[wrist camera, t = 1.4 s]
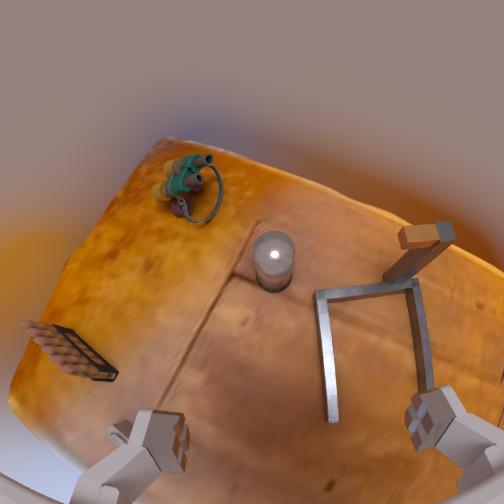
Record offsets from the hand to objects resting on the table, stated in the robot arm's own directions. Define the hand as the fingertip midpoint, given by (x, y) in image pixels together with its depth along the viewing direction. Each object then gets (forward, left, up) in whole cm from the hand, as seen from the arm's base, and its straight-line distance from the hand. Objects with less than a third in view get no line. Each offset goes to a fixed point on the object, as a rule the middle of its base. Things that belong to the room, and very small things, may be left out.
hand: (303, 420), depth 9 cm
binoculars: (+11, -27, -28) cm, 41 cm away
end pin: (0, -14, -28) cm, 31 cm away
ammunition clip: (+27, -4, -28) cm, 39 cm away
